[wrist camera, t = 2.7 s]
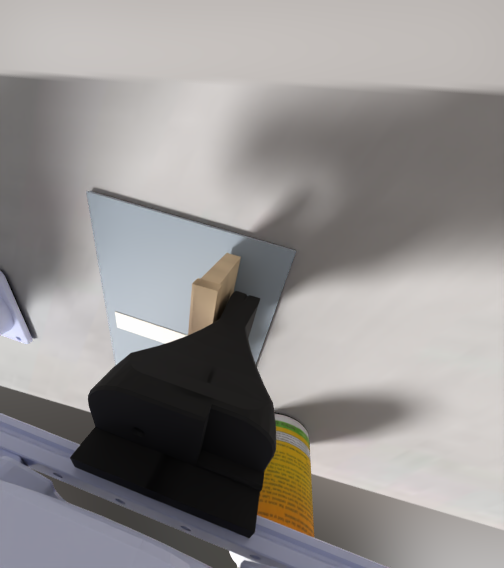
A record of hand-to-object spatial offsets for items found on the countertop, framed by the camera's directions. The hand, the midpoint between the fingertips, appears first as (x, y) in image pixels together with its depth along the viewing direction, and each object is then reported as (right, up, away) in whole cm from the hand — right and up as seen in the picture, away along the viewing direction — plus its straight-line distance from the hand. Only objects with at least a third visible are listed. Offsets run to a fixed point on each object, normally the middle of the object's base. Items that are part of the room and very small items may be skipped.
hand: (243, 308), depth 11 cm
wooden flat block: (-1, 0, +1) cm, 2 cm away
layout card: (-5, -2, +4) cm, 6 cm away
